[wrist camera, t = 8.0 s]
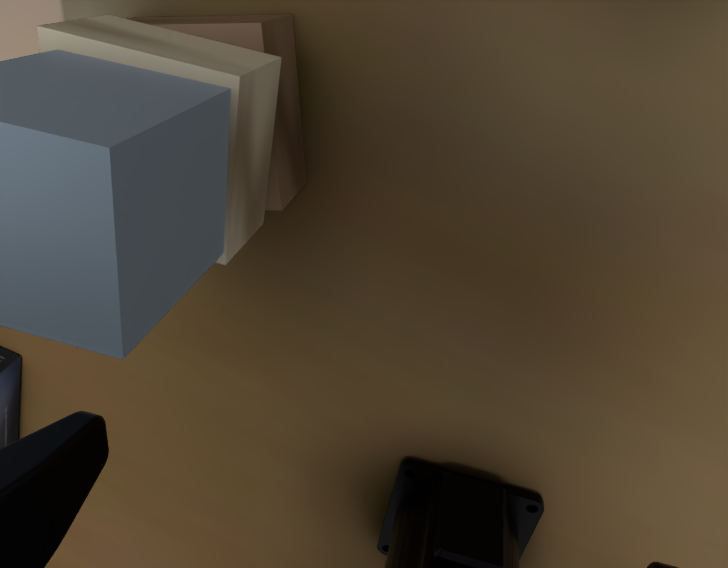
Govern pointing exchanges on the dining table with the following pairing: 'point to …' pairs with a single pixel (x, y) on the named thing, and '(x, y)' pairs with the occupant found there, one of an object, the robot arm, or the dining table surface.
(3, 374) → the small box
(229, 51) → the tower mid
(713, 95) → the dining table surface
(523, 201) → the dining table surface
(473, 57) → the dining table surface
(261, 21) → the tower base
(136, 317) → the blue cube
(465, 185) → the dining table surface
